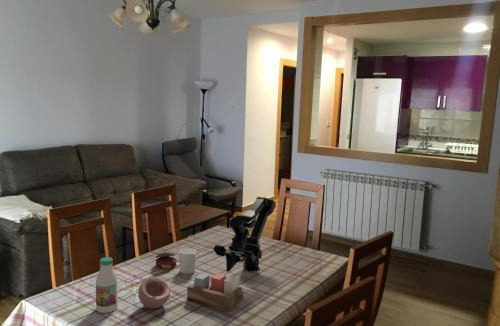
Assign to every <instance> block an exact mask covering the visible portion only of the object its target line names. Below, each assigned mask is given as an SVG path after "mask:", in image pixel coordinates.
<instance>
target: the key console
mask: <svg viewBox="0 0 500 326" xmlns="http://www.w3.org/2000/svg"><path fill="white" fill-rule="evenodd" d="M186 290H187V291H186V293H187V294H186V301H187V302H190V303H194V304H198V305H201V306H206V307H209V308H213V309H217V310H220V311H222V312H223V311H224V312H226V313H230V312H231V311H232V310H233V309H234V308H235V307H236V306H237V305H238V304H239V303H240V302H242V300H243V299H244V294H242V293H243V287H241V286H238V288H237V289H236V290H235V291H234V292H233V293H232V294H231V295H228V294H224V288H223V289H222V290H221V291H220V292H217V291H213V290H211V284H209V287H208V288H206V289H205V288H201V287H197V286H194V282H193V283H192V284H189V285H187V286H186Z"/></svg>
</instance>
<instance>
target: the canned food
mask: <svg viewBox="0 0 500 326" xmlns="http://www.w3.org/2000/svg"><path fill="white" fill-rule="evenodd" d="M174 256H176V254H175V253H172V252H160V253H158V254H157V255H156V256H155V258H156V259H155V268H156V269H158V270H163V271H165V270H166V271H167V270H172V269H175V268H176V266H177V259H176V258H175V257H174Z"/></svg>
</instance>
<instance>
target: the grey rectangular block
mask: <svg viewBox="0 0 500 326" xmlns="http://www.w3.org/2000/svg"><path fill="white" fill-rule="evenodd" d="M193 283H194V286H197V287H201V288H205V289H206V288H208V287H209V286H210V274H207V273H202V272H200V273H199V274H197V275H196V276H194V282H193Z"/></svg>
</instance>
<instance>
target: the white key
mask: <svg viewBox="0 0 500 326" xmlns="http://www.w3.org/2000/svg"><path fill="white" fill-rule="evenodd" d="M239 280H240V278H239V277H236V276H231V275H230V276H228V277H227V278H226V280H225V281H224V294H228V295H231V294H232V293H233V292H234V291H235V290H236V289H237V288H239Z"/></svg>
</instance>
